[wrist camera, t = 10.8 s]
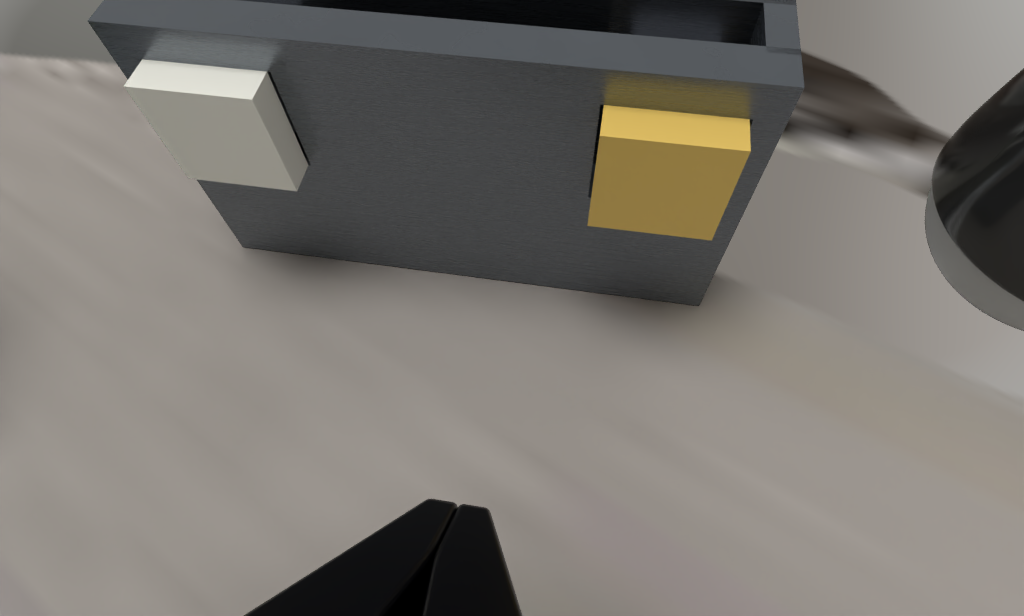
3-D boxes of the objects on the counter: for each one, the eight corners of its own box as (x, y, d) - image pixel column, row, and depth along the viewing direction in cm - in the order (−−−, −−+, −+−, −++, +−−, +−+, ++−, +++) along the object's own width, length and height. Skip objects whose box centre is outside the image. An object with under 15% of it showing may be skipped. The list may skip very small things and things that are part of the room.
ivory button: (297, 191, 21) (252, 99, 18) (188, 178, 22) (123, 86, 18) (337, 98, 23) (304, 0, 20) (238, 88, 24) (188, -9, 20)
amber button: (711, 240, 20) (750, 151, 16) (587, 225, 20) (599, 135, 17) (712, 137, 22) (746, 39, 19) (600, 125, 22) (614, 27, 19)
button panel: (698, 305, 26) (804, 87, 16) (242, 246, 28) (87, 20, 18) (700, 225, 28) (794, -13, 18) (275, 175, 30) (152, -62, 20)
